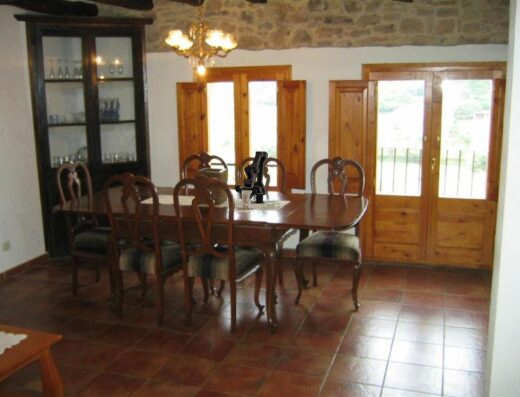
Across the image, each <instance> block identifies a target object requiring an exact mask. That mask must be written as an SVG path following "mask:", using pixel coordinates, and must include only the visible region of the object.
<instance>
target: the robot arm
mask: <svg viewBox="0 0 520 397" xmlns="http://www.w3.org/2000/svg"><path fill="white" fill-rule="evenodd" d="M268 158H269V153H268V152H267V151H265V150H261V151H260V150H257V151H255V154H254V157H253V161H252V162H251V163H250V164H247V166H245V167H244V169H243V171H244V173H245V176H246V178H243V180H242V183H243V186H241V184H235V185H234V190H235V192H236V193H239V194H240V199H241V200H242V190H247V191H251V195H250V199H251V200H252V199H253V197H254V196H255V201H254V203H255V204H265V201H264V196H266V195H267V191H266V187H265V183H264V172H265V171H264V170H265V164H266V162H267V161H268ZM255 180H256V181H255Z"/></svg>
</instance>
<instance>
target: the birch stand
mask: <svg viewBox="0 0 520 397" xmlns="http://www.w3.org/2000/svg"><path fill="white" fill-rule="evenodd" d="M247 206H248V193H244V194H243V207H242V209H241V208H240V209H236V211H234V212H236V213H251V212H253V210H252V209H248V208H247Z"/></svg>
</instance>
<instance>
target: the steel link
mask: <svg viewBox="0 0 520 397" xmlns="http://www.w3.org/2000/svg"><path fill="white" fill-rule="evenodd" d="M251 192H252V191H249V190H242V199H241V208H243V194H248V195H247V209H251V206H252V205H251V200H252V198H251V199H250V195H251Z"/></svg>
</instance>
